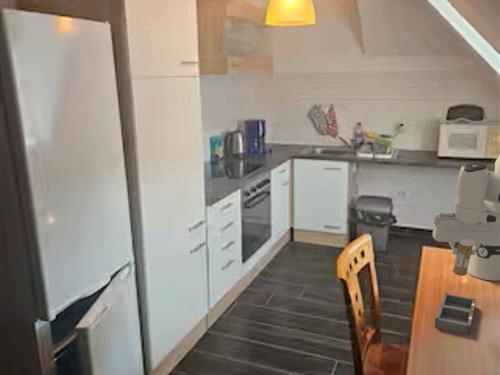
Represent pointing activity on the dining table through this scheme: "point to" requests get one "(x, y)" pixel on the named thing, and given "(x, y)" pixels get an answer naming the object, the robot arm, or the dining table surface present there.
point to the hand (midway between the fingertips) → (463, 254)
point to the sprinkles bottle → (463, 256)
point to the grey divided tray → (455, 313)
